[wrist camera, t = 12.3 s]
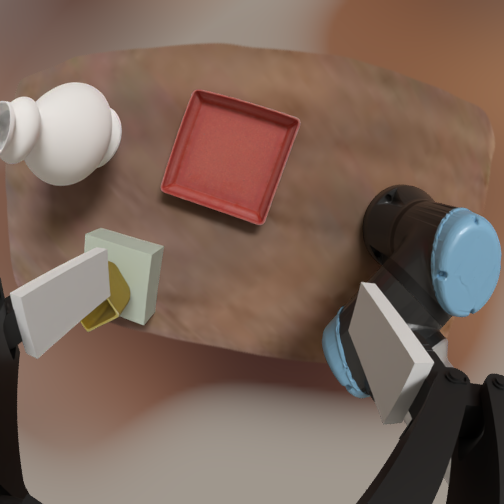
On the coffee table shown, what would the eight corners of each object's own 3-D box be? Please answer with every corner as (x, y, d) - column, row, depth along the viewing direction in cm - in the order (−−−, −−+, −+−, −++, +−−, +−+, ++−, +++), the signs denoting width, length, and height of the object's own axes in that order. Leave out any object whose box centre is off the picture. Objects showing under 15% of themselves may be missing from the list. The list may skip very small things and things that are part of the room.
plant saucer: (198, 92, 43) (193, 87, 40) (300, 122, 43) (302, 119, 40) (166, 189, 48) (158, 191, 45) (264, 223, 48) (263, 227, 45)
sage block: (165, 245, 51) (151, 254, 45) (155, 311, 55) (143, 325, 49) (102, 227, 51) (85, 233, 45) (98, 290, 55) (83, 301, 49)
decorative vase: (142, 164, 47) (43, 167, 23) (72, 193, 49) (-24, 215, 25) (126, 78, 42) (37, 37, 18) (58, 115, 45) (-32, 106, 21)
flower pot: (144, 293, 47) (119, 317, 38) (111, 310, 49) (86, 333, 40) (118, 249, 45) (88, 265, 37) (88, 270, 47) (58, 287, 39)
